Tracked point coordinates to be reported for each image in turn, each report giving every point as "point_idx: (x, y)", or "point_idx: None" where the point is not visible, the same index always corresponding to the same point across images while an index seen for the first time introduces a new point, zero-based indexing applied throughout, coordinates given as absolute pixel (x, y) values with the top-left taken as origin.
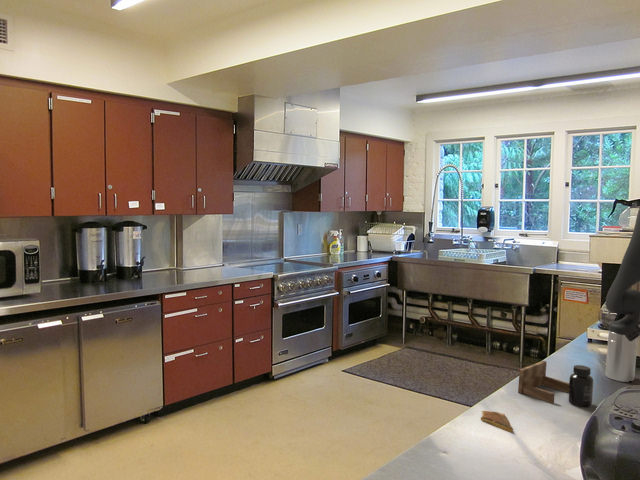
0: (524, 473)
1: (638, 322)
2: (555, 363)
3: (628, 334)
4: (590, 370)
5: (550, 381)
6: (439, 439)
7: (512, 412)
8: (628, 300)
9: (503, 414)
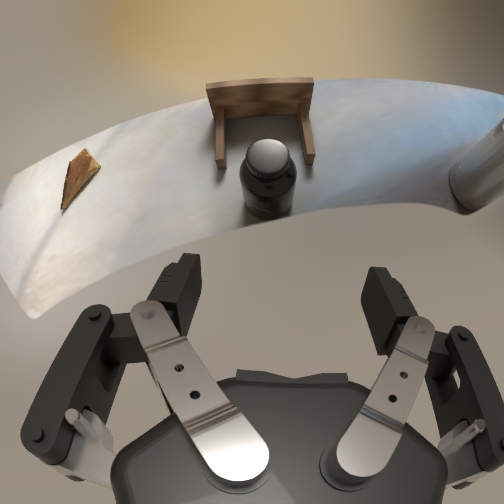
0: (6, 281)
1: (61, 350)
2: (417, 92)
3: (162, 274)
4: (278, 175)
5: (300, 119)
6: (14, 182)
7: (123, 162)
8: None
9: (94, 167)
